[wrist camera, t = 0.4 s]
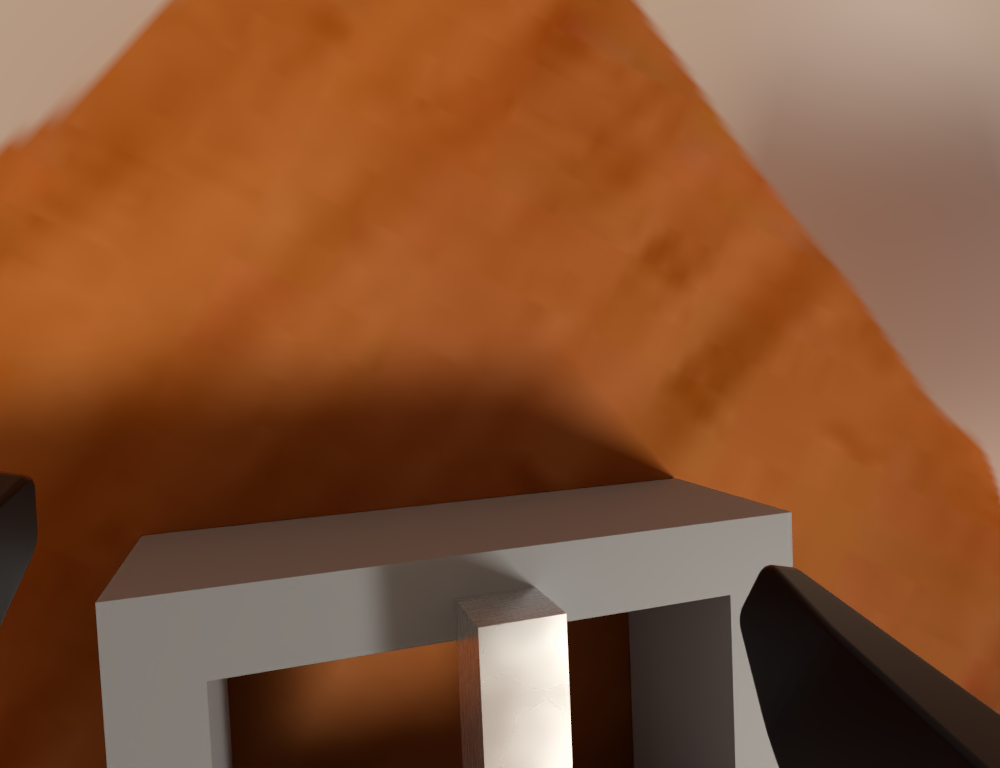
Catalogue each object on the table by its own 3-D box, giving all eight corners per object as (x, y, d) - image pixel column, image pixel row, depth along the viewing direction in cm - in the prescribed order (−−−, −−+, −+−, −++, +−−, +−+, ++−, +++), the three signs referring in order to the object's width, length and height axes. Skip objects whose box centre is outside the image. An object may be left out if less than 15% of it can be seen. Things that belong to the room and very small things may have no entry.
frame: (686, 811, 27) (801, 935, 21) (169, 946, 21) (135, 1159, 16) (675, 478, 26) (791, 512, 20) (141, 535, 21) (94, 602, 15)
